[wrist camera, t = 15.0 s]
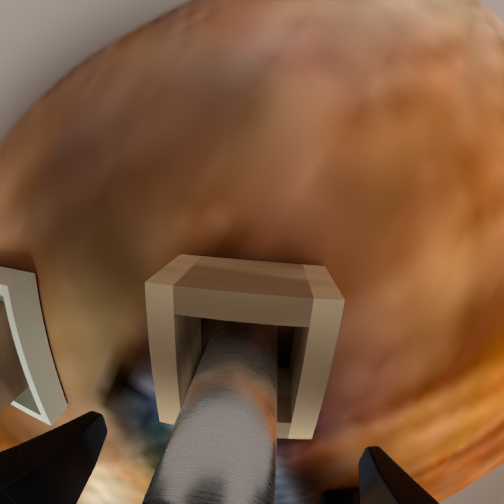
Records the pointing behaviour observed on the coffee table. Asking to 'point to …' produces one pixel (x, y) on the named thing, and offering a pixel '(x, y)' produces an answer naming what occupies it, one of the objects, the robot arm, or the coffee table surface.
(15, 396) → the walnut block
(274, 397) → the cylinder
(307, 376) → the beige square frame
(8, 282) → the tray
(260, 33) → the coffee table surface
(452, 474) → the coffee table surface
